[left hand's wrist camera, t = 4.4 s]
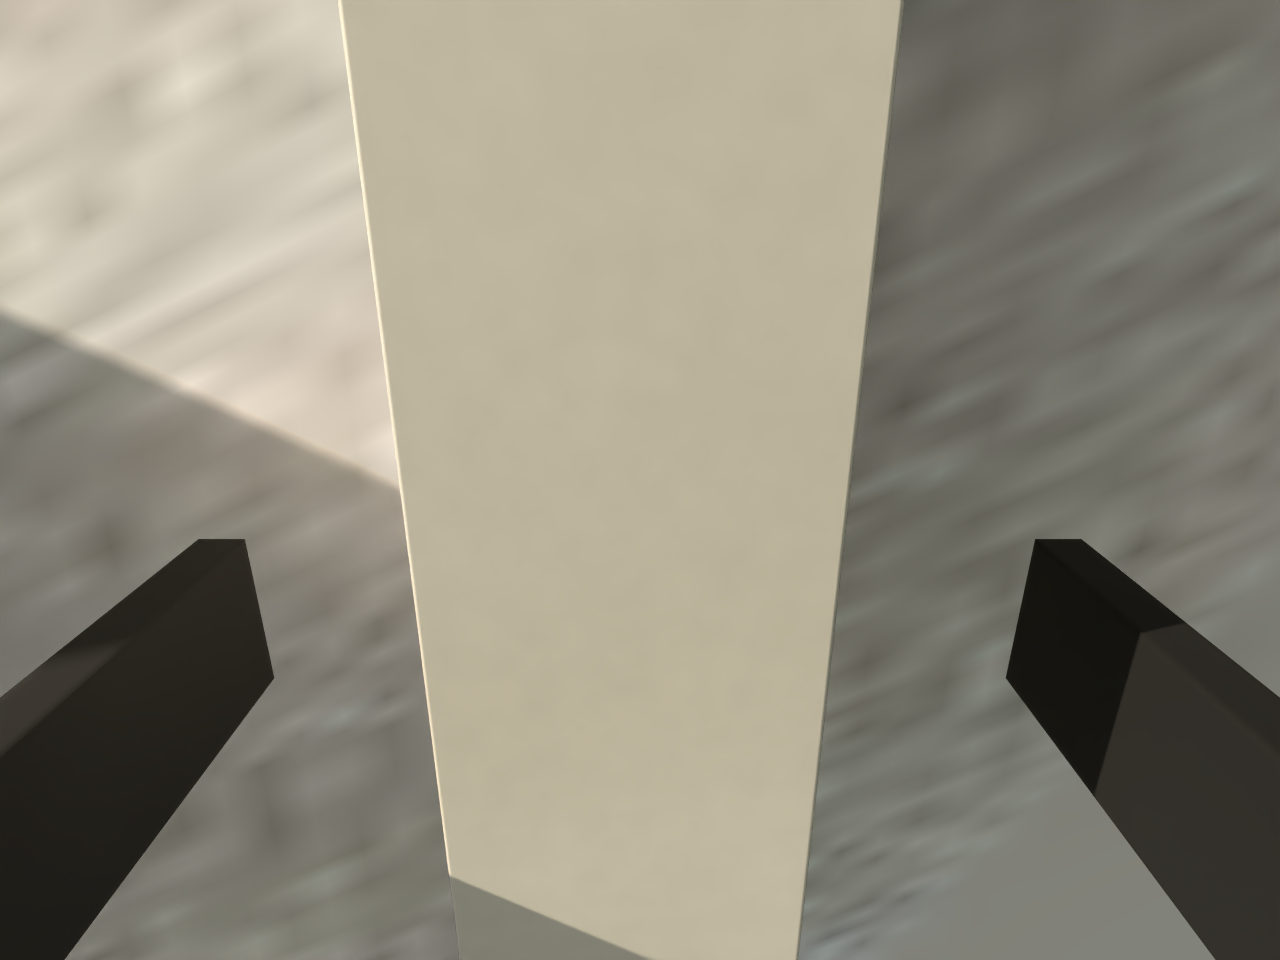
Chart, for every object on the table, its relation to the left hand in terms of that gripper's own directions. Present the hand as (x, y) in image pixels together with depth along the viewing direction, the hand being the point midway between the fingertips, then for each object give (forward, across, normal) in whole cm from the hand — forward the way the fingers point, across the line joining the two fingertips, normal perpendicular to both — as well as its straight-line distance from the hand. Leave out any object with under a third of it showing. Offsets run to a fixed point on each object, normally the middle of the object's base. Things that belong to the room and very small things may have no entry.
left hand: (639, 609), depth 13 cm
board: (+4, 0, -23) cm, 23 cm away
